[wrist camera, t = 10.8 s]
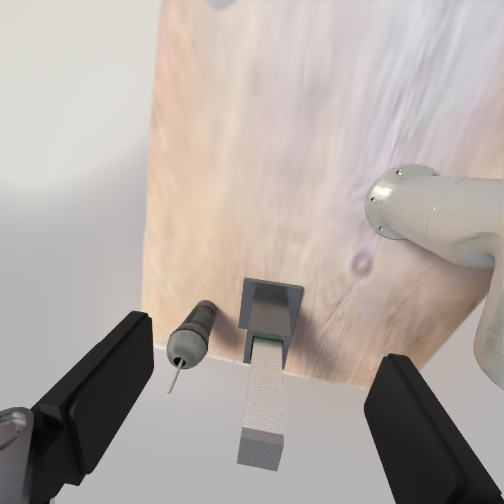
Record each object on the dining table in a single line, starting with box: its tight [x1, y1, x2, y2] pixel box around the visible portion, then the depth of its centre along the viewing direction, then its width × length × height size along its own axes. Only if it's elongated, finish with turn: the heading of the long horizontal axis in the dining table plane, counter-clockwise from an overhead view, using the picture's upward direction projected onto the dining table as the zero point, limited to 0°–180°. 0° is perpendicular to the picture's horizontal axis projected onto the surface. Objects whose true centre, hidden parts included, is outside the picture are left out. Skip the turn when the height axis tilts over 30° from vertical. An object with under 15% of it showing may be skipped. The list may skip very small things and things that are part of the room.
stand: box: [238, 278, 302, 370], centre depth 45 cm, size 12×12×13 cm
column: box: [237, 336, 284, 471], centre depth 34 cm, size 4×4×20 cm
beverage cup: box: [166, 300, 216, 394], centre depth 43 cm, size 7×7×20 cm
